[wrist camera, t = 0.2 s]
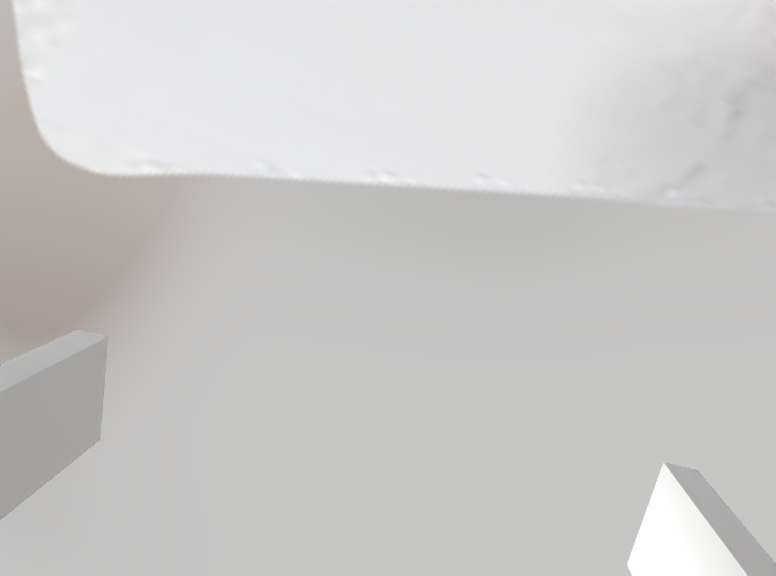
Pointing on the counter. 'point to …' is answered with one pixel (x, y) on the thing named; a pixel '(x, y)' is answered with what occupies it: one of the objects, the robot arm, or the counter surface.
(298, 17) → the counter surface
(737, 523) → the robot arm
